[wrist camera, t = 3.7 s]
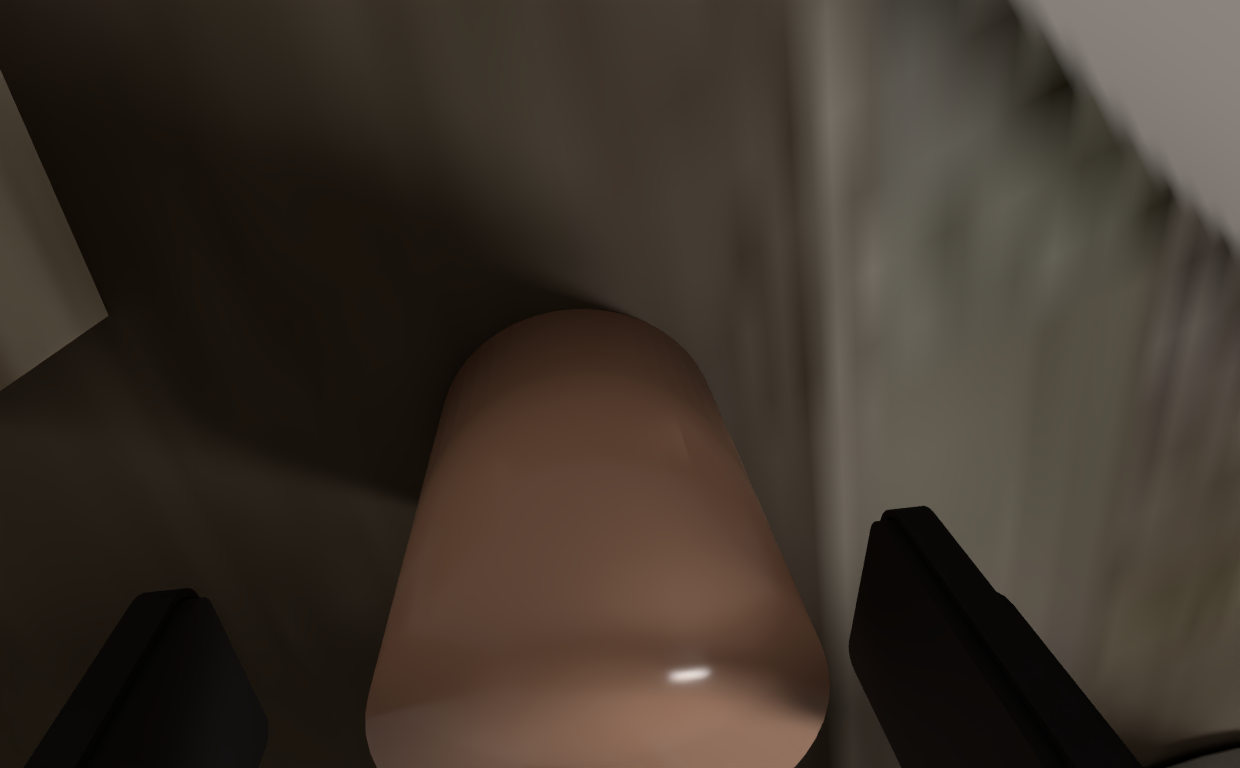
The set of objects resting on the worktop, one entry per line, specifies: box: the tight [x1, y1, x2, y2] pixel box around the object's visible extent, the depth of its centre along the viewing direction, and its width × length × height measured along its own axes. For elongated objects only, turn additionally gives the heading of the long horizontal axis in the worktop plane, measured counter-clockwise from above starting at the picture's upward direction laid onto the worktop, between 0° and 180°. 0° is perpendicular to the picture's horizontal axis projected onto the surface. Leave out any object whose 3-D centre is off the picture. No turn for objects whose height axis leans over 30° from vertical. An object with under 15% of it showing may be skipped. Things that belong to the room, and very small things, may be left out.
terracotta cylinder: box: [365, 309, 830, 768], centre depth 12 cm, size 6×6×7 cm
